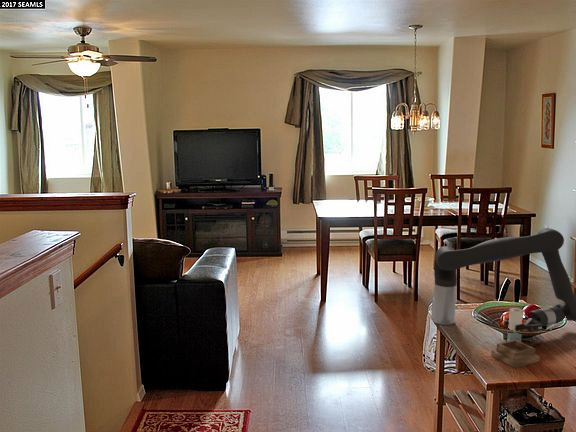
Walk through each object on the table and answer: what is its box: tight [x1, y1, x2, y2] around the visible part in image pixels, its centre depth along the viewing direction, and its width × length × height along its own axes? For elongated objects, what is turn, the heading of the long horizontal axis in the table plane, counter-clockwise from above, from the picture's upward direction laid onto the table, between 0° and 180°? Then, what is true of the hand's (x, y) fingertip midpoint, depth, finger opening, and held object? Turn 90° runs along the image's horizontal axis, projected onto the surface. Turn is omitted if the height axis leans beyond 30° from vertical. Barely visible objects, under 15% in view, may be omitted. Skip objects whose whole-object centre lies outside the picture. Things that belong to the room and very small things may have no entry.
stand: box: [490, 339, 541, 369], centre depth 218 cm, size 12×12×5 cm
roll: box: [506, 307, 524, 342], centre depth 231 cm, size 5×5×14 cm
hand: (510, 325), depth 229 cm, fingers closed on roll, 5 cm apart
